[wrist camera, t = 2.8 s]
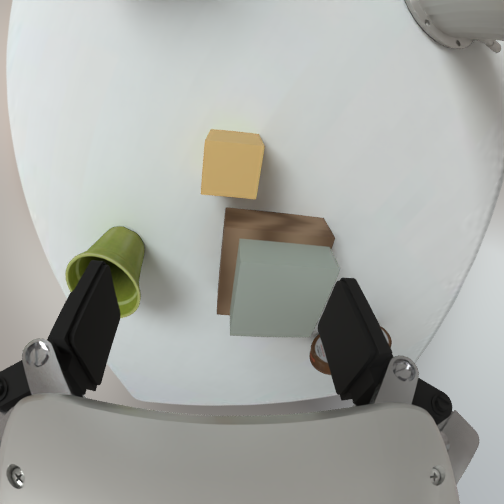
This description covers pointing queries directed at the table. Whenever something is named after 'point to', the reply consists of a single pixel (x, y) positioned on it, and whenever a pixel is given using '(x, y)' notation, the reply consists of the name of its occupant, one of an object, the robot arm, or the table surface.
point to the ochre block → (232, 164)
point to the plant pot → (114, 265)
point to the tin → (320, 358)
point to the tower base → (264, 229)
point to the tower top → (280, 288)
